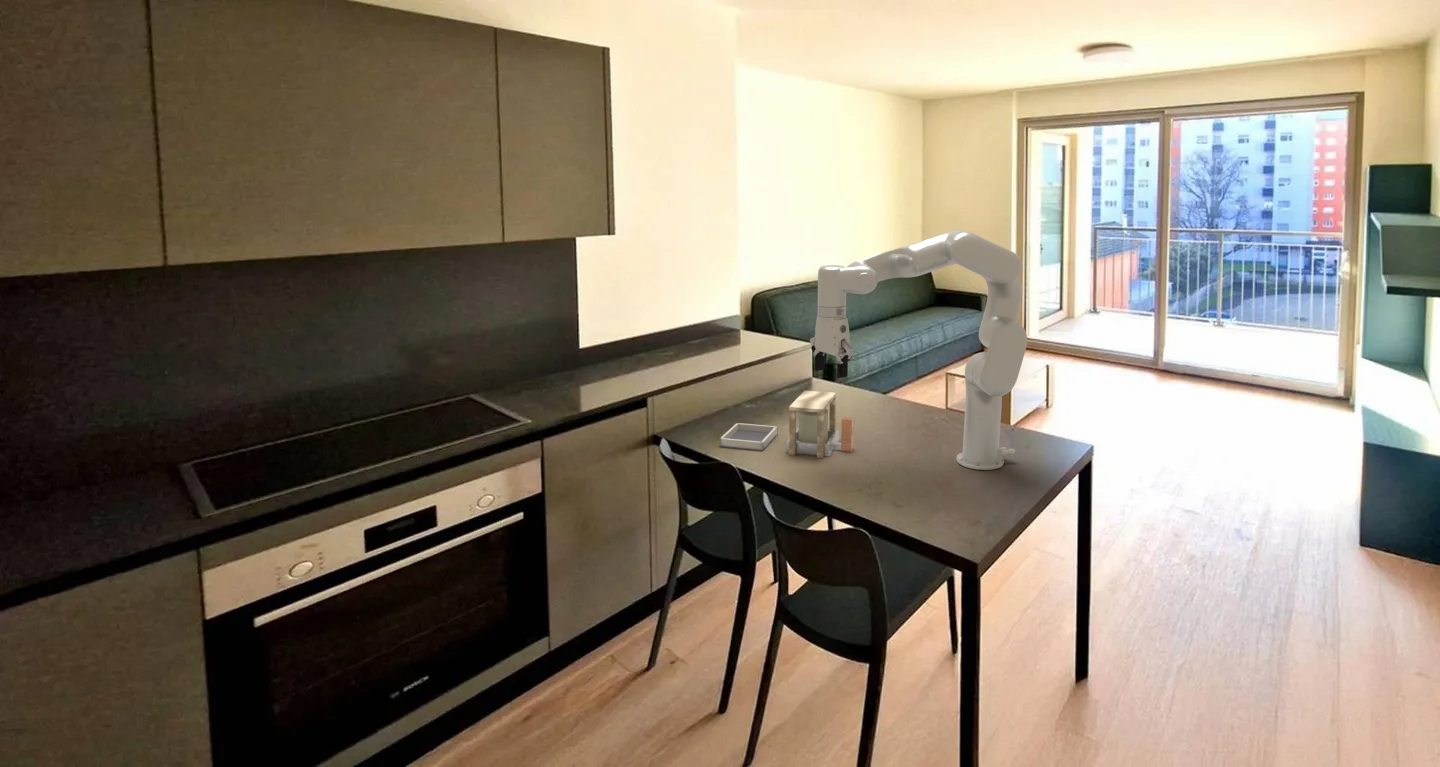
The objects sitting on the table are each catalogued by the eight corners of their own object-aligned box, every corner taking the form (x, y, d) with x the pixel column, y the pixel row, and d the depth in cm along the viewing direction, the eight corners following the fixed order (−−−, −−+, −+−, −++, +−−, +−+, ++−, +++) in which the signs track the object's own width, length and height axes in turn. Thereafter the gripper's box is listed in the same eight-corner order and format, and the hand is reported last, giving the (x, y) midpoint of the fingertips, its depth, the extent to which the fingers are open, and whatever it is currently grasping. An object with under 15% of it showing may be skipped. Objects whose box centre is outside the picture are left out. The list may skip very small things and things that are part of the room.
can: (830, 451, 222) (830, 413, 219) (799, 452, 223) (799, 414, 219) (826, 441, 231) (826, 404, 228) (796, 441, 231) (796, 405, 228)
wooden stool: (835, 438, 233) (835, 392, 229) (822, 458, 217) (822, 409, 213) (804, 435, 237) (804, 390, 233) (789, 455, 221) (789, 406, 217)
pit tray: (777, 434, 239) (777, 426, 238) (763, 451, 224) (762, 442, 224) (736, 430, 244) (736, 422, 243) (719, 446, 229) (719, 438, 229)
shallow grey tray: (856, 442, 229) (856, 411, 226) (847, 458, 216) (848, 425, 214) (798, 437, 235) (798, 407, 233) (786, 452, 223) (786, 420, 220)
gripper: (864, 314, 194) (862, 378, 198) (822, 306, 208) (821, 365, 212) (841, 318, 190) (840, 382, 194) (800, 309, 204) (800, 369, 209)
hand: (830, 373), depth 203 cm, fingers open, 9 cm apart
